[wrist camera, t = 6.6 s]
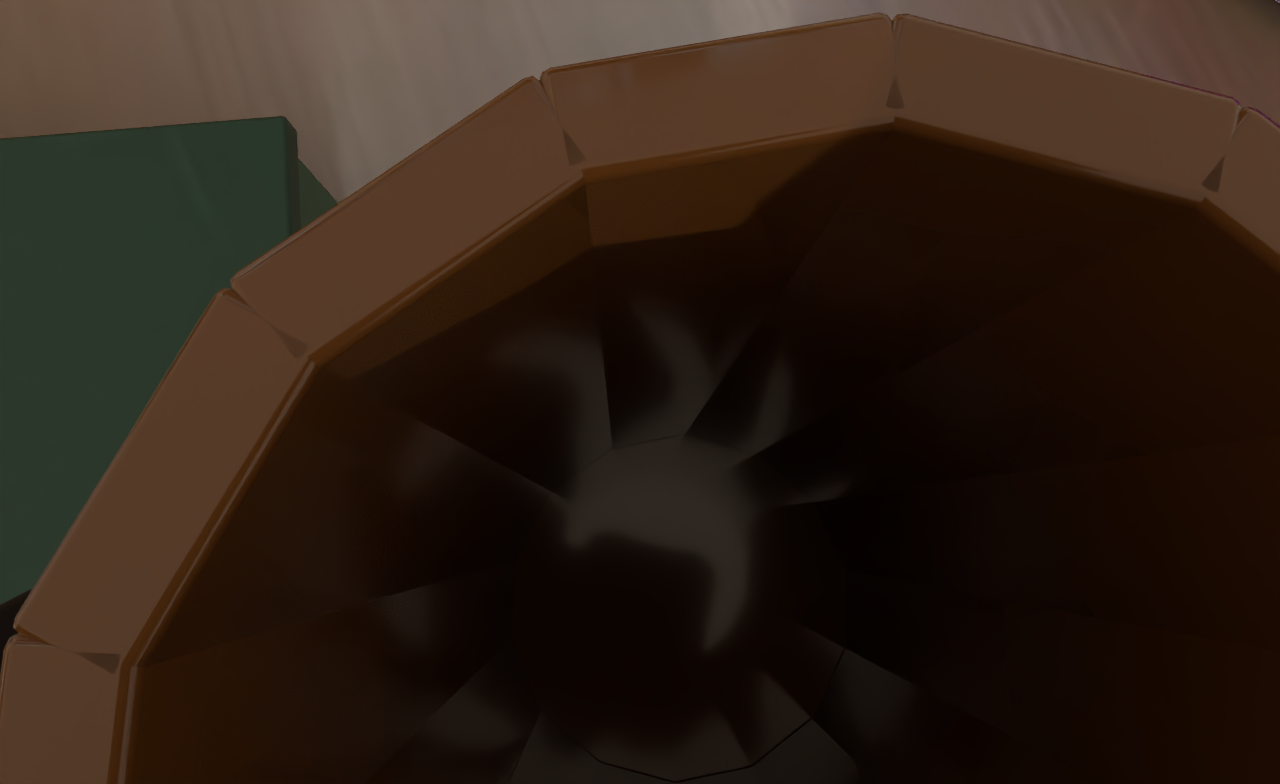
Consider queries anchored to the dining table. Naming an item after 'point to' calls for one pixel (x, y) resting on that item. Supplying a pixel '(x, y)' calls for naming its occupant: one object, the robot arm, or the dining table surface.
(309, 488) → the brown hollow cylinder
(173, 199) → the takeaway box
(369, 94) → the dining table surface
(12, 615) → the robot arm
